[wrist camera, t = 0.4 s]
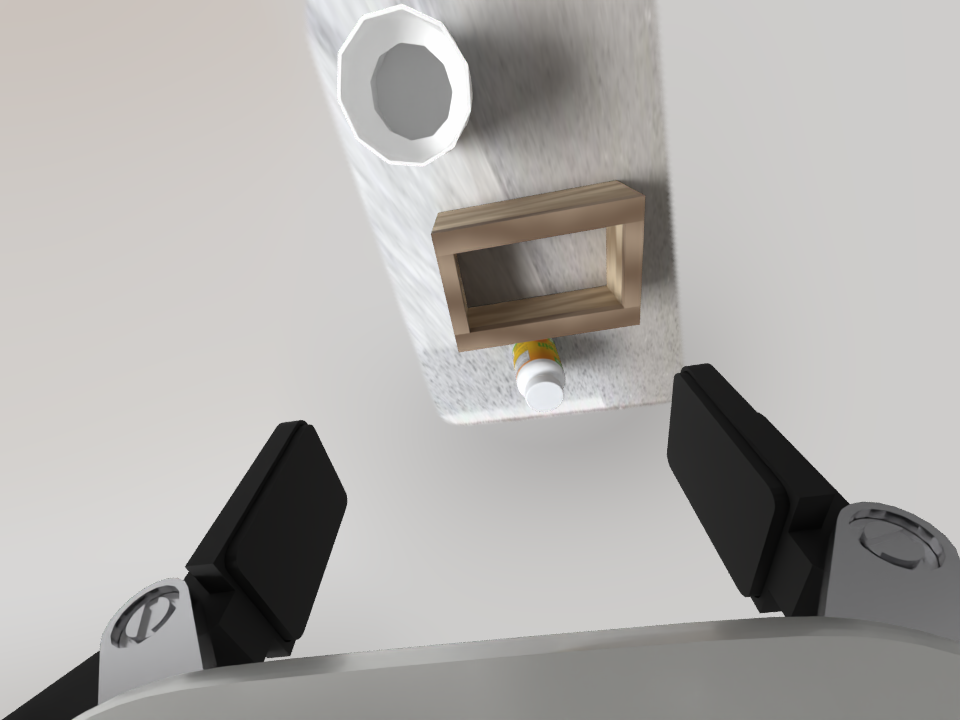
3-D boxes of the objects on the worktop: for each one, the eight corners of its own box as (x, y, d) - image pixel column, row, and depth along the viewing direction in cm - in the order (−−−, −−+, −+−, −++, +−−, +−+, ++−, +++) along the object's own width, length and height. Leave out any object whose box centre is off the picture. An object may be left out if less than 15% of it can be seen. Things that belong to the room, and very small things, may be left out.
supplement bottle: (564, 344, 50) (582, 391, 42) (537, 374, 52) (548, 424, 44) (529, 322, 48) (541, 367, 40) (503, 354, 51) (508, 403, 42)
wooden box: (438, 212, 41) (431, 234, 35) (616, 180, 40) (645, 195, 33) (461, 317, 48) (458, 352, 41) (615, 292, 46) (639, 324, 39)
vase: (370, 28, 33) (325, -5, 23) (476, 38, 34) (476, 10, 24) (377, 147, 38) (342, 162, 28) (469, 154, 38) (468, 172, 28)
